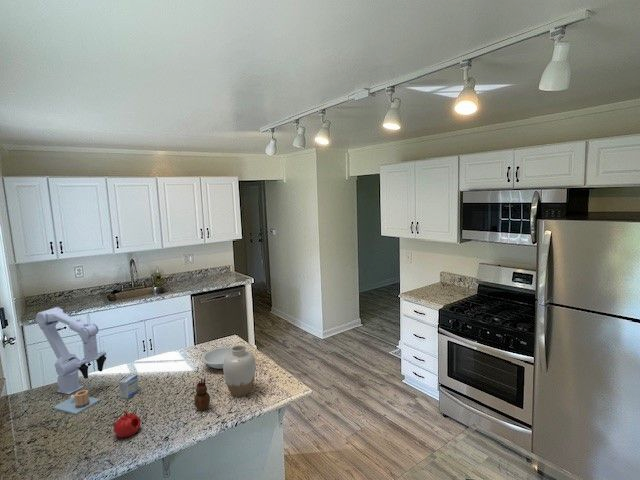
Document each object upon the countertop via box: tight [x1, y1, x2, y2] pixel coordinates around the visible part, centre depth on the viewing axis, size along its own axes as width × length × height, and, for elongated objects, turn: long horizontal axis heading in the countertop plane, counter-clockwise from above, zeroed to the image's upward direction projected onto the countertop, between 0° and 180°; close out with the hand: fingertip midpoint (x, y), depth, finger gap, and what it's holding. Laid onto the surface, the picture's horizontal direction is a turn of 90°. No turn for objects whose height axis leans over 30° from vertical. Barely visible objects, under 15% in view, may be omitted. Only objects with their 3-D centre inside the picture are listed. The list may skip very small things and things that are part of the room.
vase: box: [222, 344, 257, 398], centre depth 175 cm, size 16×16×23 cm
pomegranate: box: [113, 410, 142, 438], centre depth 146 cm, size 10×10×9 cm
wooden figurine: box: [193, 377, 211, 411], centre depth 162 cm, size 7×6×15 cm
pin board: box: [52, 394, 101, 416], centre depth 168 cm, size 16×12×4 cm
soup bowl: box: [201, 345, 235, 370], centre depth 205 cm, size 24×24×7 cm
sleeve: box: [74, 389, 90, 408], centre depth 167 cm, size 5×5×6 cm
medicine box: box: [118, 374, 140, 399], centre depth 176 cm, size 8×4×9 cm, turn 168°
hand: (93, 374), depth 178 cm, fingers open, 7 cm apart
